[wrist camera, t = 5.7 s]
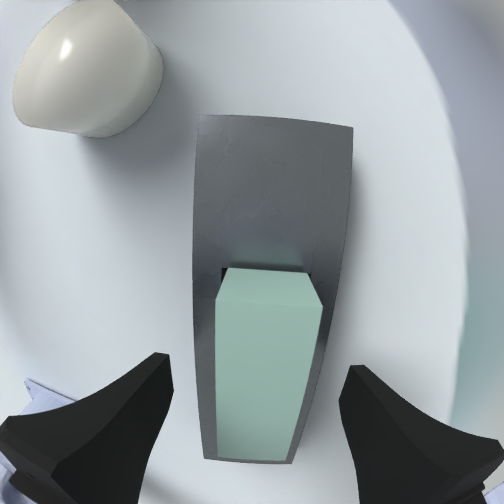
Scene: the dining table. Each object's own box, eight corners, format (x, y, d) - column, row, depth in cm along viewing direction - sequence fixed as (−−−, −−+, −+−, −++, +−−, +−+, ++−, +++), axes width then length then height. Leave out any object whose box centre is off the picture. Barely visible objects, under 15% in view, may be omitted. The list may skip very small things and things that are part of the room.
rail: (289, 438, 17) (291, 464, 14) (209, 433, 17) (203, 458, 14) (337, 137, 12) (353, 127, 9) (210, 127, 12) (199, 115, 9)
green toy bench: (280, 381, 15) (285, 460, 9) (230, 378, 15) (217, 456, 9) (297, 253, 13) (322, 306, 7) (235, 249, 13) (215, 300, 8)
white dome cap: (156, 133, 12) (104, 111, 7) (63, 144, 12) (3, 139, 7) (171, 29, 11) (138, -20, 6) (80, 51, 11) (32, 24, 6)
